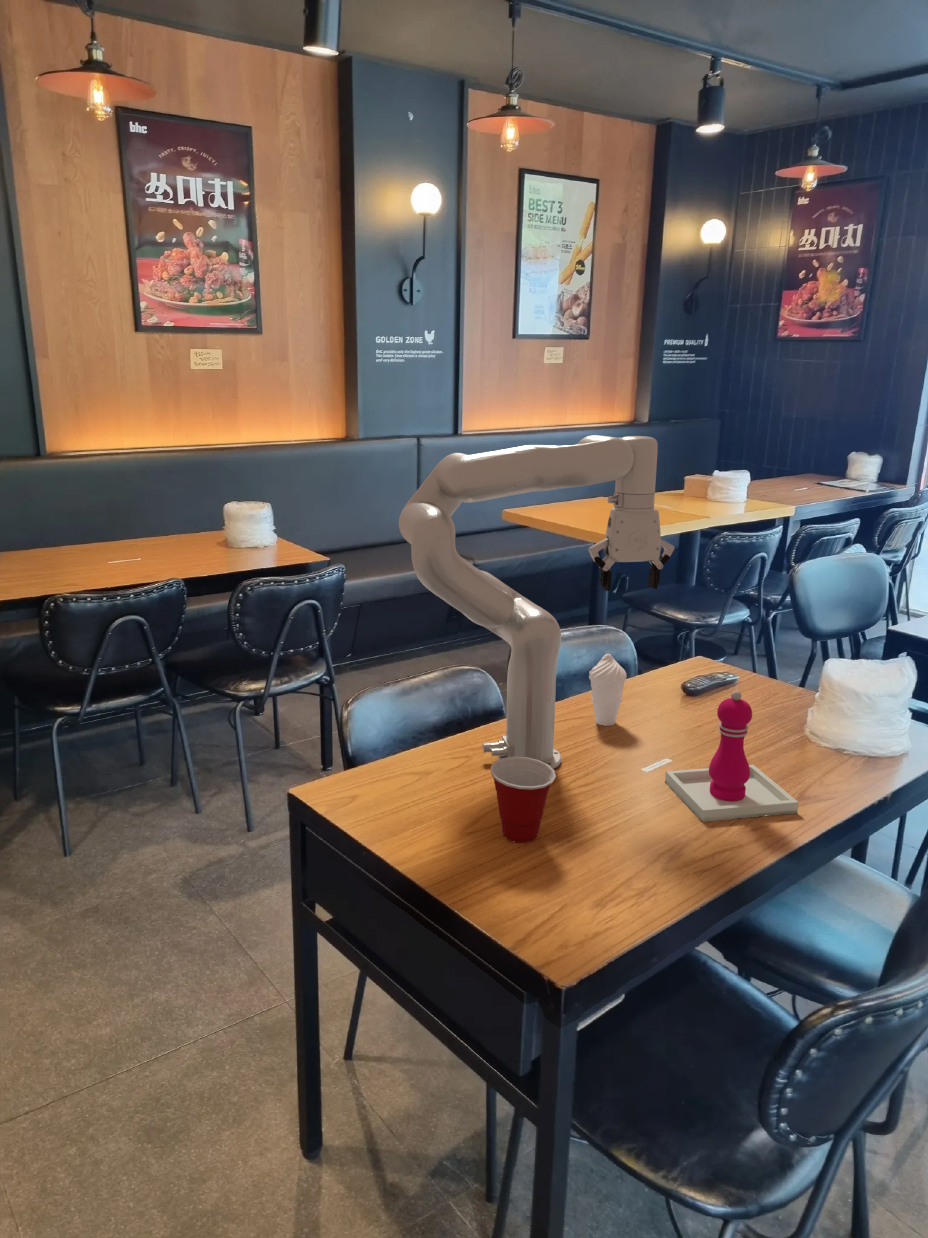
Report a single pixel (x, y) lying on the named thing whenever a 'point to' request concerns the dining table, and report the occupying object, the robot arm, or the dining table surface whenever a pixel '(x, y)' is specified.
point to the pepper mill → (731, 750)
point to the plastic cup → (521, 795)
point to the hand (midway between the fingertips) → (629, 588)
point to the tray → (757, 801)
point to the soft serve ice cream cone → (607, 689)
